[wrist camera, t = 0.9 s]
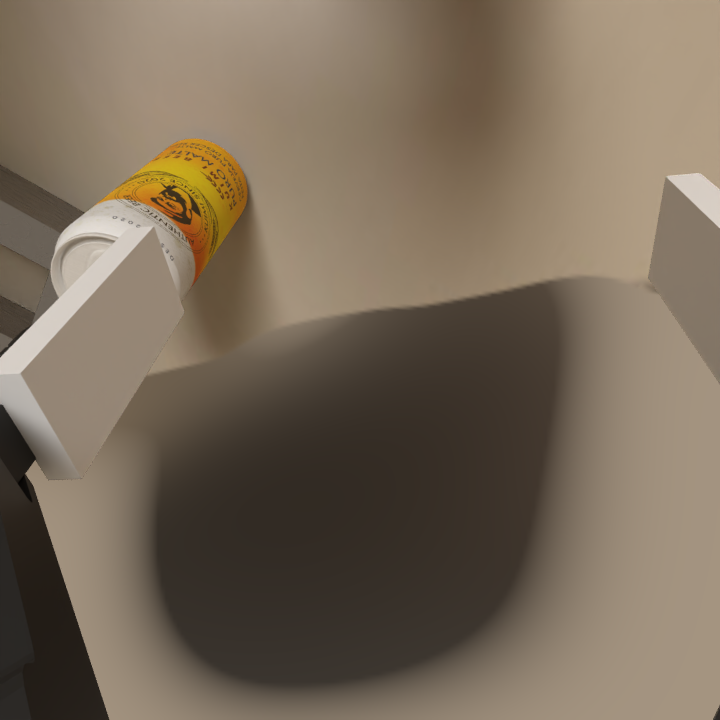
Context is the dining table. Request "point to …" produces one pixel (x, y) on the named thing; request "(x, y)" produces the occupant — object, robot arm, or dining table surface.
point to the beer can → (161, 213)
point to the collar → (29, 241)
